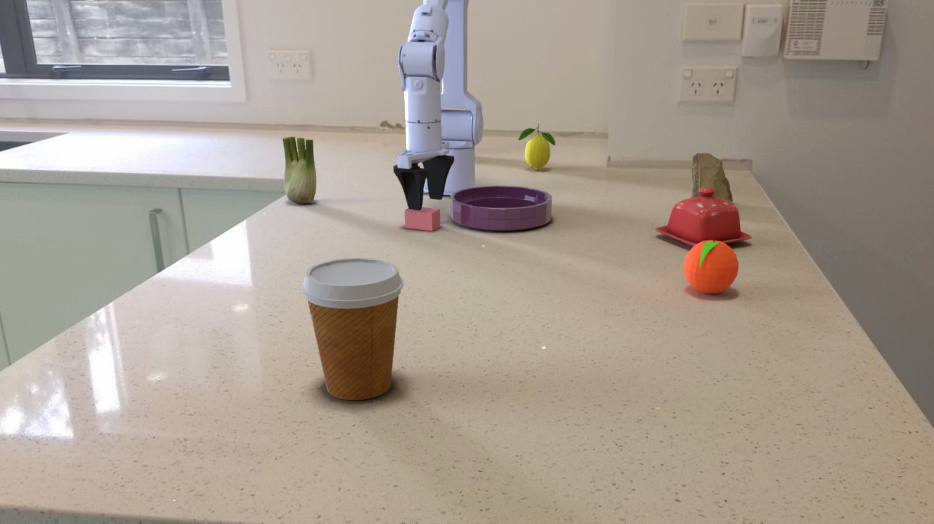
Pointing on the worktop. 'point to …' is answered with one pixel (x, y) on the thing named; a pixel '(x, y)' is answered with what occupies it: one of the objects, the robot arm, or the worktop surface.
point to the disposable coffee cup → (354, 323)
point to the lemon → (537, 148)
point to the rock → (709, 176)
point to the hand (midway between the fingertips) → (425, 204)
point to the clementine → (711, 266)
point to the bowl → (501, 208)
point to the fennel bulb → (299, 170)
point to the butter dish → (704, 220)
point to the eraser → (422, 219)
